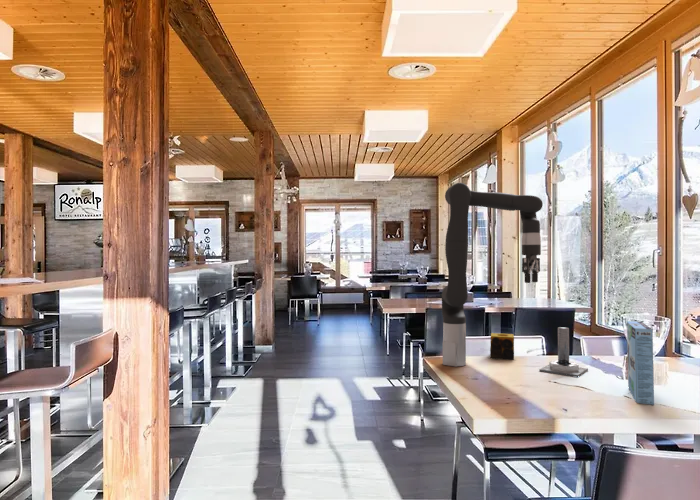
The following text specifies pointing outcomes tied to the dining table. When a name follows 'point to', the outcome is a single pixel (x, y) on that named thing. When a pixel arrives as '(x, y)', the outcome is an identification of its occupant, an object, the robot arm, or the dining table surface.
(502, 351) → the brown textured cube
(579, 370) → the collar
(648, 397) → the blue cardboard box
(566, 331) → the pin
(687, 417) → the dining table surface
